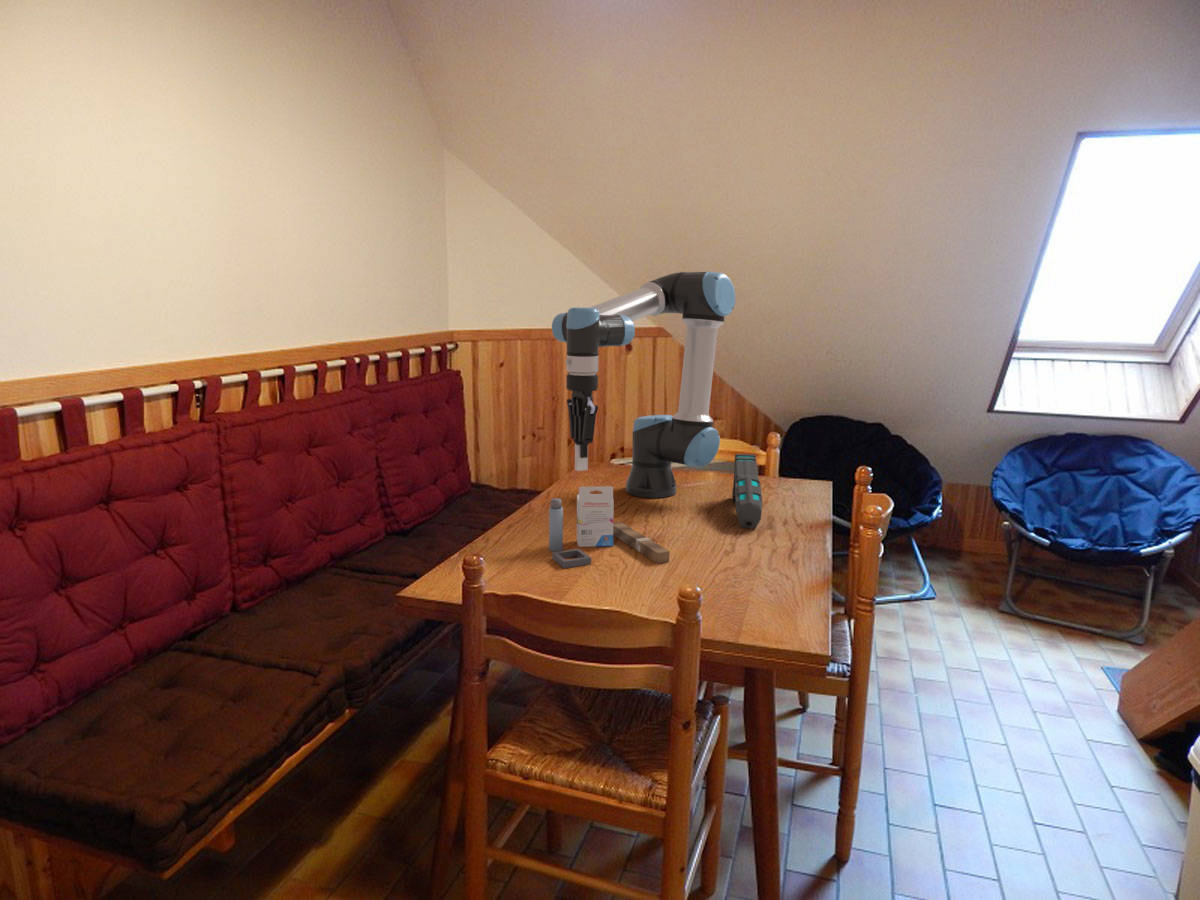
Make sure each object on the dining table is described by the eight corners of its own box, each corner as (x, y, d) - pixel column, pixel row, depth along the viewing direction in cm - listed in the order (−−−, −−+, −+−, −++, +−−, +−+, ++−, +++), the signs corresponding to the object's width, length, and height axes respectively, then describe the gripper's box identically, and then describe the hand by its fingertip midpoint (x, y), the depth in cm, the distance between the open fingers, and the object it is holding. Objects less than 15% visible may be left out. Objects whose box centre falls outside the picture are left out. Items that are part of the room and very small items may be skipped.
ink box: (610, 539, 187) (612, 481, 184) (613, 546, 182) (614, 486, 179) (576, 540, 186) (576, 481, 183) (577, 547, 181) (578, 486, 178)
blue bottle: (547, 547, 181) (547, 498, 178) (559, 546, 182) (559, 497, 179) (552, 552, 178) (552, 502, 175) (564, 550, 179) (565, 500, 177)
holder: (552, 558, 173) (552, 552, 173) (578, 554, 176) (578, 548, 176) (563, 568, 168) (563, 561, 167) (591, 564, 170) (591, 557, 170)
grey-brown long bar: (609, 532, 192) (609, 522, 192) (620, 531, 194) (620, 521, 193) (657, 563, 171) (657, 552, 171) (669, 561, 173) (669, 550, 172)
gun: (753, 492, 226) (757, 448, 219) (759, 554, 201) (763, 506, 194) (730, 491, 227) (733, 447, 220) (733, 552, 202) (737, 505, 194)
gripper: (556, 371, 187) (556, 465, 192) (579, 377, 175) (578, 477, 180) (584, 370, 190) (583, 462, 195) (608, 375, 179) (607, 474, 184)
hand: (581, 469), depth 188 cm, fingers closed
